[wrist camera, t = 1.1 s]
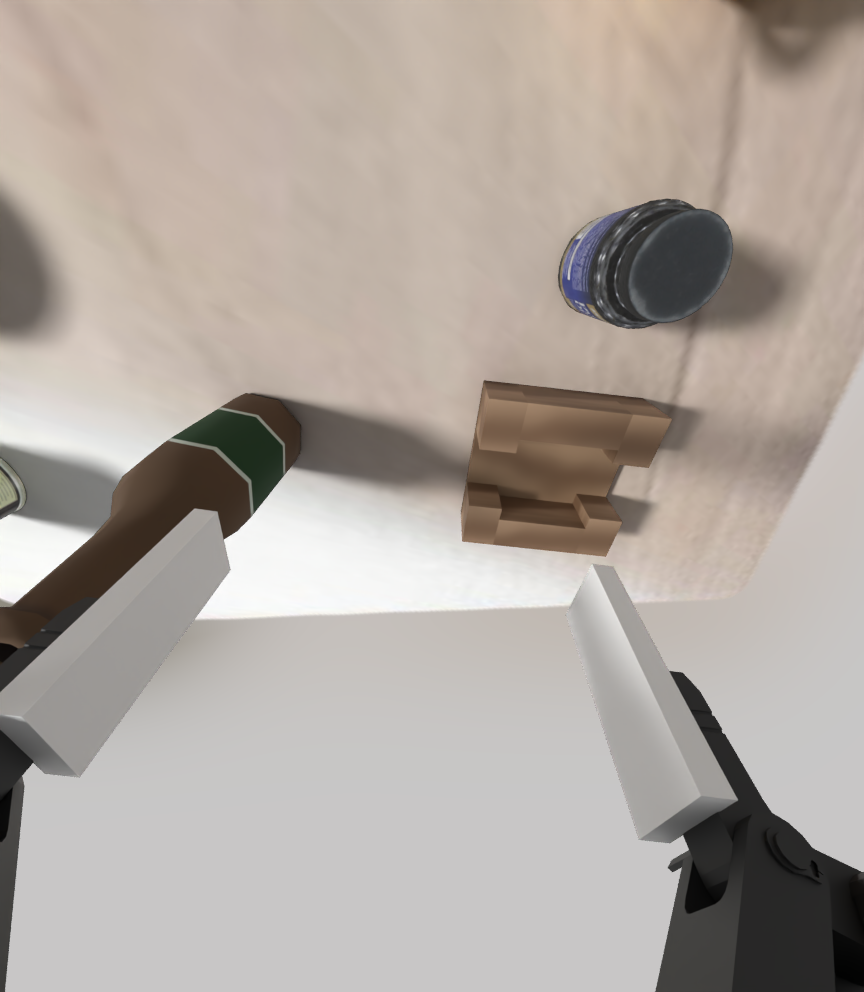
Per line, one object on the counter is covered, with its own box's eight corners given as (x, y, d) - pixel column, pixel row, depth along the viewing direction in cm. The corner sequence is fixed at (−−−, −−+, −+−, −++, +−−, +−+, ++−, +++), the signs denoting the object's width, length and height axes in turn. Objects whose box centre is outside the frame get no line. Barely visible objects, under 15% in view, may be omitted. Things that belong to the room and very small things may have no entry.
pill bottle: (550, 314, 28) (598, 338, 19) (564, 216, 25) (631, 188, 16) (630, 313, 28) (718, 338, 19) (656, 214, 25) (778, 185, 16)
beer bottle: (319, 421, 34) (126, 649, 14) (288, 479, 38) (100, 726, 18) (238, 372, 32) (-125, 559, 12) (214, 439, 36) (-96, 668, 15)
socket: (483, 380, 31) (488, 398, 27) (642, 398, 32) (672, 419, 27) (461, 511, 39) (462, 541, 35) (589, 525, 39) (605, 556, 35)
